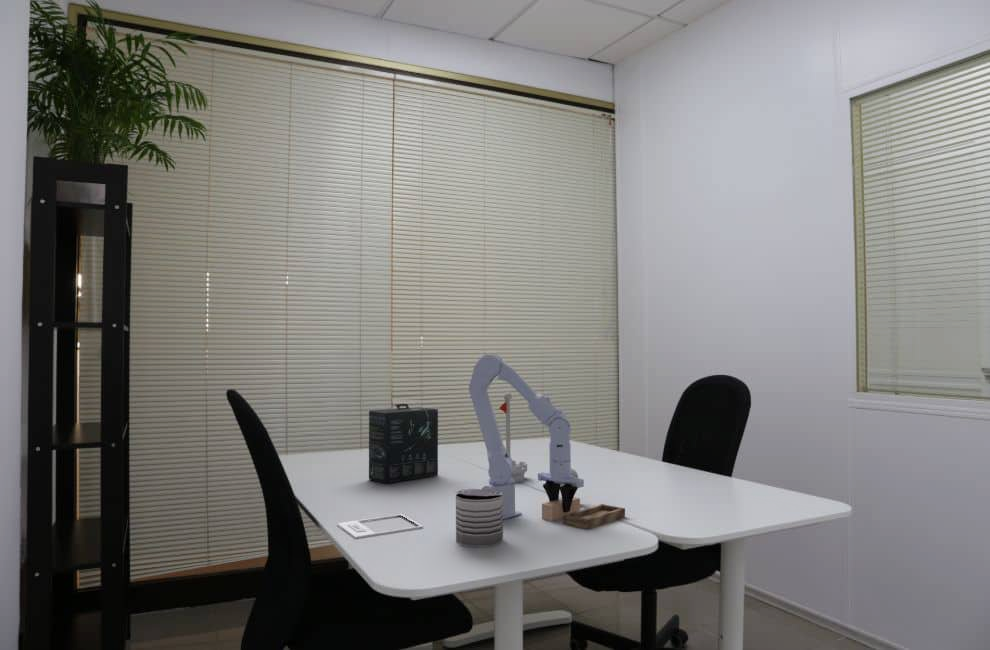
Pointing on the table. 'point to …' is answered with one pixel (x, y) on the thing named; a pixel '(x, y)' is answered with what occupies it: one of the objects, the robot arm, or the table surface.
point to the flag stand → (522, 466)
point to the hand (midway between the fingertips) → (560, 510)
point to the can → (479, 518)
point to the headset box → (403, 444)
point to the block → (558, 509)
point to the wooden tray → (593, 516)
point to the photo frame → (362, 531)
